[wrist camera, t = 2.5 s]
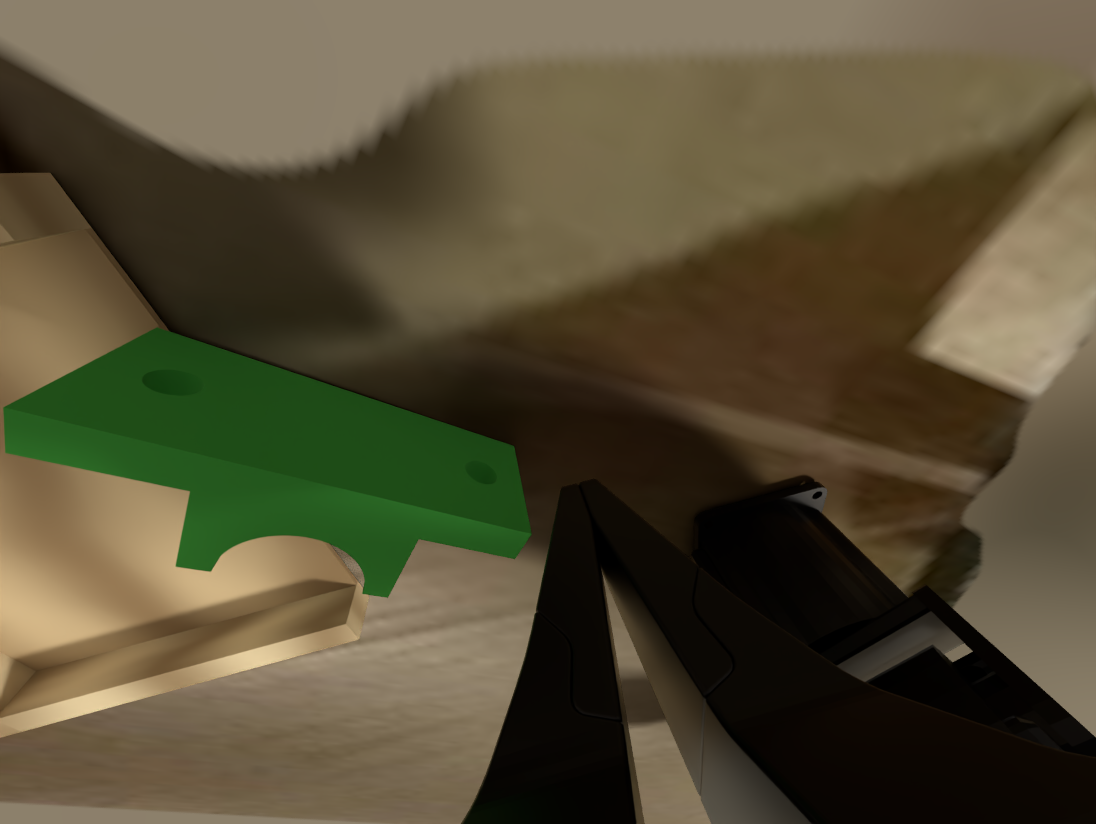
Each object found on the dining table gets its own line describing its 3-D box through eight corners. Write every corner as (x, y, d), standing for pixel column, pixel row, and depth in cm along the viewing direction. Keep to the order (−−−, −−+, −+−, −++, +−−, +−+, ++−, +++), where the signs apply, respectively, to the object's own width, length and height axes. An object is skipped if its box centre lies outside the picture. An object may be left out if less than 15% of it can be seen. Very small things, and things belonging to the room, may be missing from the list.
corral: (50, 173, 9) (-43, 173, 8) (369, 596, 19) (359, 639, 17) (-659, 330, 9) (-932, 369, 7) (36, 686, 18) (-9, 740, 16)
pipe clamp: (146, 429, 13) (4, 542, 9) (159, 325, 11) (-2, 405, 7) (475, 513, 17) (479, 615, 13) (515, 446, 15) (532, 537, 12)
